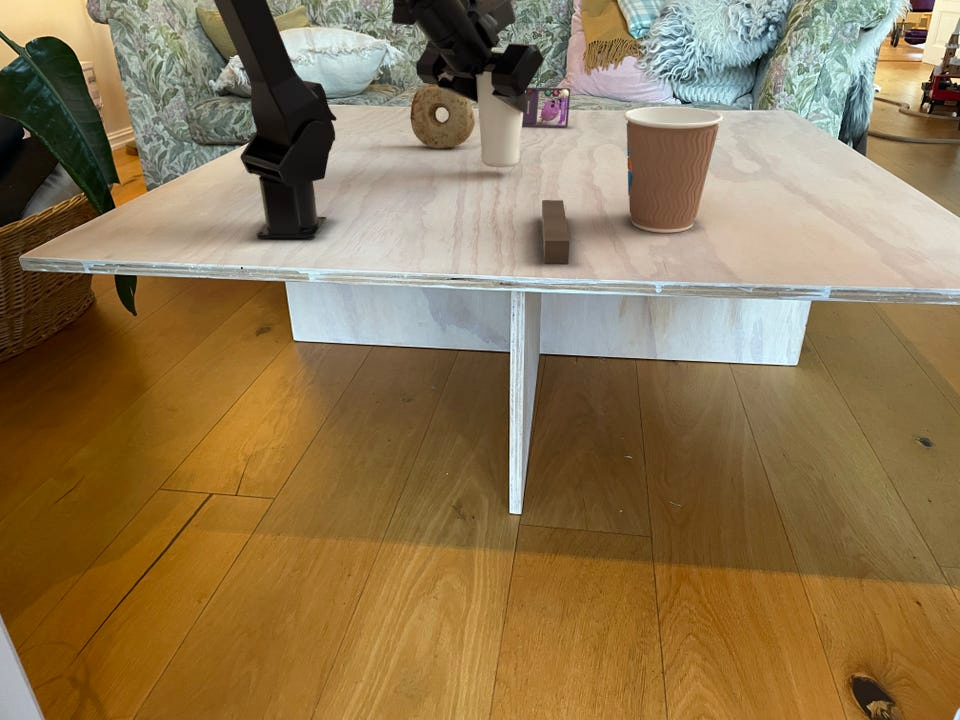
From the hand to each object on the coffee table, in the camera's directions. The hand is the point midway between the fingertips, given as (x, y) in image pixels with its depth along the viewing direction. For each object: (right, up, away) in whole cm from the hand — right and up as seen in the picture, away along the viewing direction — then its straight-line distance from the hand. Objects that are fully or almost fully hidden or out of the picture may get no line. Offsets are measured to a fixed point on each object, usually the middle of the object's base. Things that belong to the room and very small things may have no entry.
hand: (507, 107), depth 101 cm
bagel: (-10, 0, +19) cm, 21 cm away
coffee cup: (+17, -19, -17) cm, 31 cm away
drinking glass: (-1, -7, +3) cm, 8 cm away
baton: (+4, -22, -21) cm, 31 cm away
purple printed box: (+8, +8, +35) cm, 37 cm away
